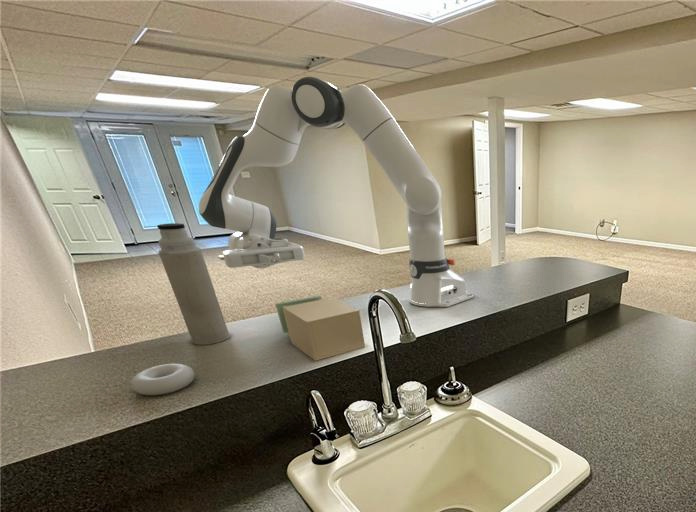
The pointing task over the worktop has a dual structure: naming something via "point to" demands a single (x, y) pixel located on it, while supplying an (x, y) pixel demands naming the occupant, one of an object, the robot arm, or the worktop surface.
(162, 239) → the thermos bottle
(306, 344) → the tan cardboard box
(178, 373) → the donut
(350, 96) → the robot arm
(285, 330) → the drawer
